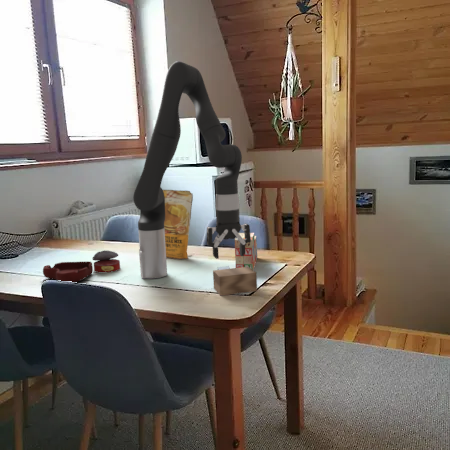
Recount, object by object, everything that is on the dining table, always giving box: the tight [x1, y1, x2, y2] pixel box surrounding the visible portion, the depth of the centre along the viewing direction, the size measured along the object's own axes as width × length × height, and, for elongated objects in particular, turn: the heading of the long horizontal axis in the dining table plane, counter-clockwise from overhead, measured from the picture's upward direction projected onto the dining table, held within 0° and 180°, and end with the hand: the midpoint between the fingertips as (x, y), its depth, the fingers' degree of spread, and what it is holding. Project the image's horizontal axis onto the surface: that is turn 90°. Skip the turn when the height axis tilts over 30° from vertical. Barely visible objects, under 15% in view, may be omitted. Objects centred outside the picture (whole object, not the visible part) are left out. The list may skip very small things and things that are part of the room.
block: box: [216, 265, 231, 270], centre depth 167 cm, size 4×4×10 cm
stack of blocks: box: [234, 232, 258, 270], centre depth 187 cm, size 21×6×12 cm, turn 172°
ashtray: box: [42, 261, 94, 283], centre depth 178 cm, size 18×16×5 cm
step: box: [212, 267, 258, 296], centre depth 157 cm, size 12×8×6 cm, turn 106°
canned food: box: [92, 250, 121, 273], centre depth 189 cm, size 11×10×10 cm
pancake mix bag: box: [162, 189, 194, 260], centre depth 204 cm, size 7×19×28 cm, turn 56°
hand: (229, 256), depth 160 cm, fingers open, 8 cm apart
